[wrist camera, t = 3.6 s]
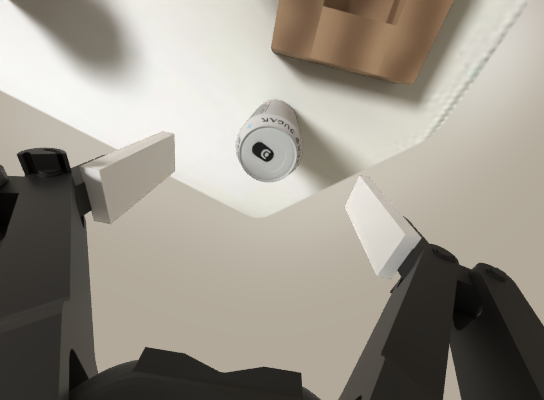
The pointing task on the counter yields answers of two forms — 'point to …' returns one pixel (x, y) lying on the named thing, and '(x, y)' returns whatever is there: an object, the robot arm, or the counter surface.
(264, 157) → the energy drink can
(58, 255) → the robot arm
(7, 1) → the counter surface
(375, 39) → the socket block
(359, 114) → the counter surface
